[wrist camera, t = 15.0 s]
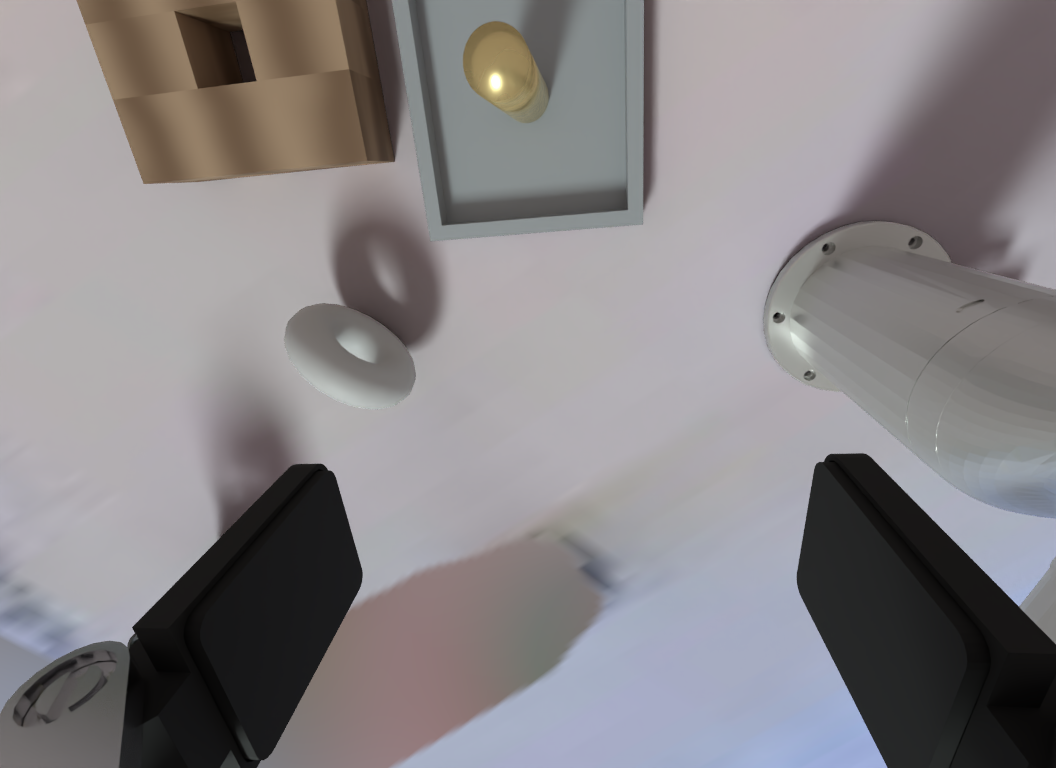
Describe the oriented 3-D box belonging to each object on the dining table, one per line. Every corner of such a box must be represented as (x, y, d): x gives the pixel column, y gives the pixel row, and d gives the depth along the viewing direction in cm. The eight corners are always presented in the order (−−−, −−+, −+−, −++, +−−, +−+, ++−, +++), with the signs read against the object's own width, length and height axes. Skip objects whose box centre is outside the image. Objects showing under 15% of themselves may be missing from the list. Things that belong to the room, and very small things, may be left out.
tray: (639, -80, 29) (644, -101, 27) (639, 220, 36) (643, 224, 33) (397, -42, 31) (382, -59, 29) (439, 236, 38) (430, 241, 35)
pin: (547, 68, 32) (526, 16, 21) (550, 120, 33) (532, 97, 22) (501, 74, 32) (458, 25, 21) (506, 125, 33) (467, 104, 23)
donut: (438, 355, 42) (398, 407, 33) (417, 384, 43) (372, 442, 34) (338, 281, 40) (266, 315, 31) (319, 313, 41) (244, 354, 32)
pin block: (350, -86, 30) (309, -131, 26) (394, 161, 36) (367, 160, 31) (122, -47, 32) (46, -82, 28) (196, 182, 38) (143, 183, 33)
